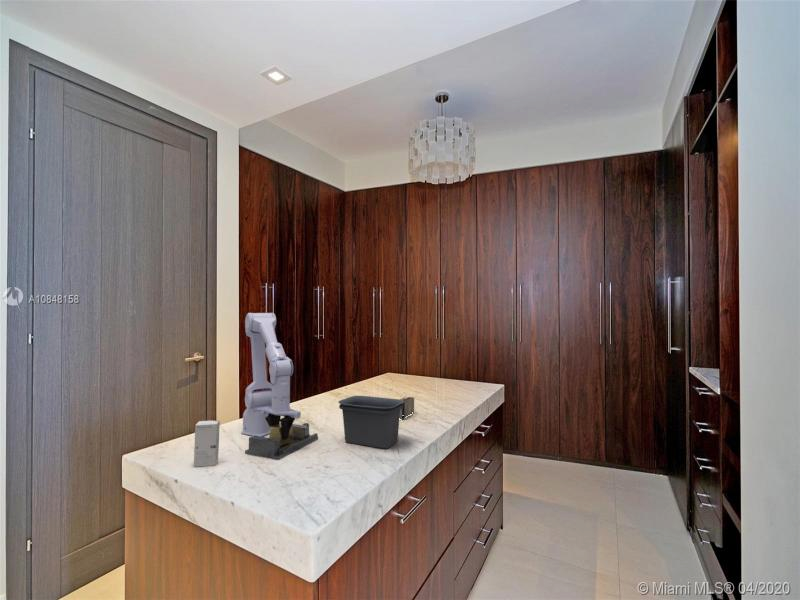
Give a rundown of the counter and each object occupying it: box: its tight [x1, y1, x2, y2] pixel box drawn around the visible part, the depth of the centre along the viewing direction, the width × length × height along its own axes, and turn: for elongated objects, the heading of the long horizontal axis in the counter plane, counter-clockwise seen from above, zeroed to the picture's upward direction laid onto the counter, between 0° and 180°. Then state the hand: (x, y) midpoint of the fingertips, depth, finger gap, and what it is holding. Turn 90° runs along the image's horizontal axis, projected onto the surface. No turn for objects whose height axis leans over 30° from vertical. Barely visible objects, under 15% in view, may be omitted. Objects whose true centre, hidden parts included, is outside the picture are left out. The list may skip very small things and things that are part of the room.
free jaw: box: [292, 422, 310, 440], centre depth 142 cm, size 10×8×4 cm
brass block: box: [269, 422, 294, 446], centre depth 133 cm, size 4×7×6 cm, turn 157°
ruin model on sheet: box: [399, 396, 415, 420], centre depth 171 cm, size 11×3×10 cm, turn 152°
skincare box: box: [193, 419, 221, 467], centre depth 119 cm, size 6×4×12 cm
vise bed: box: [244, 432, 319, 461], centre depth 134 cm, size 13×21×5 cm, turn 157°
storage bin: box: [337, 395, 404, 449], centre depth 139 cm, size 21×16×14 cm
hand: (280, 437), depth 132 cm, fingers closed on brass block, 3 cm apart
